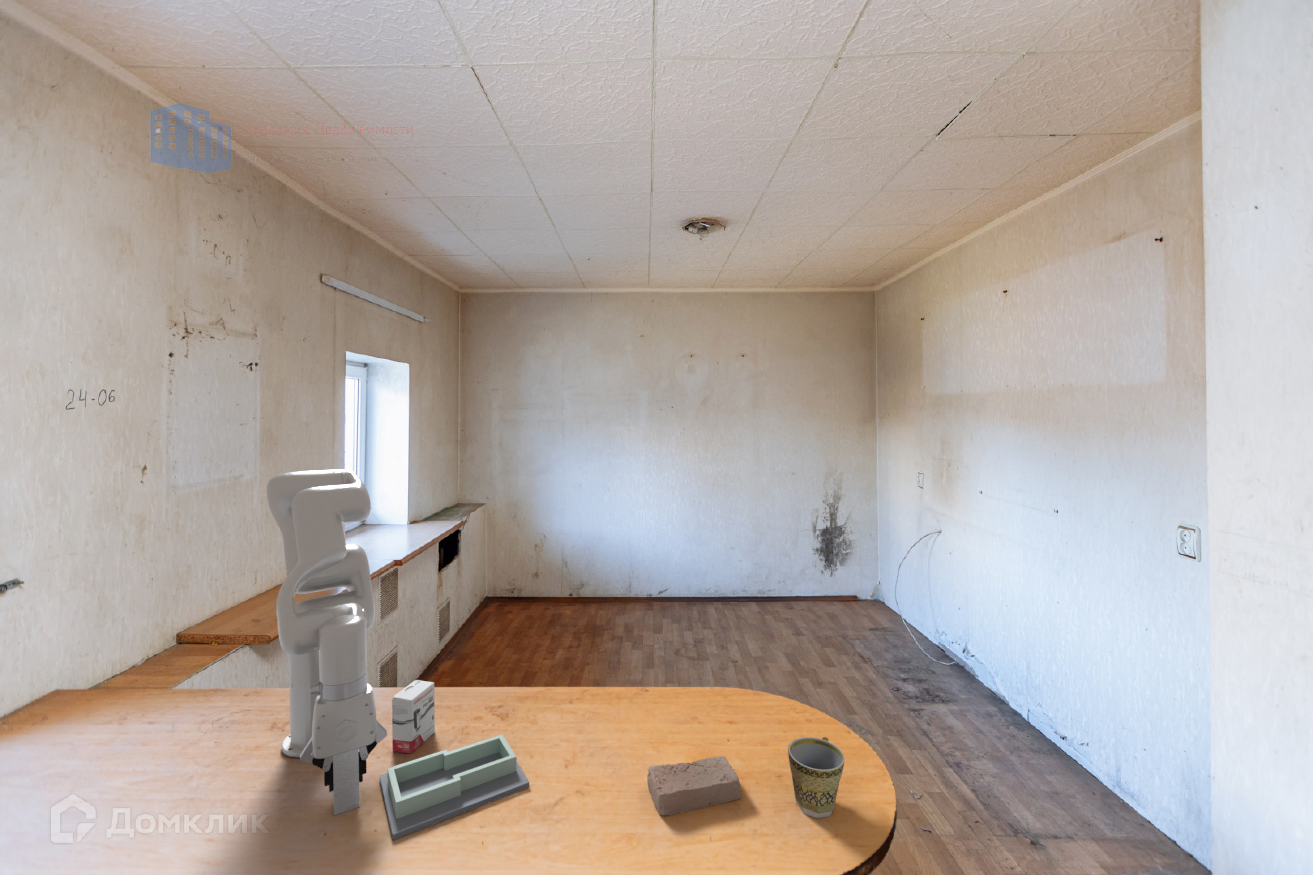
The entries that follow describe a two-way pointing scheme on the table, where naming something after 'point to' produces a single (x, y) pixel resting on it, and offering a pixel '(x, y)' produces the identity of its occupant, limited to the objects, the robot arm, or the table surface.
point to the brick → (692, 785)
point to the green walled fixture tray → (449, 784)
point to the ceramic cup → (815, 774)
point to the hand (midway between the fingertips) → (345, 781)
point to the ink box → (413, 716)
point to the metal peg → (345, 781)
